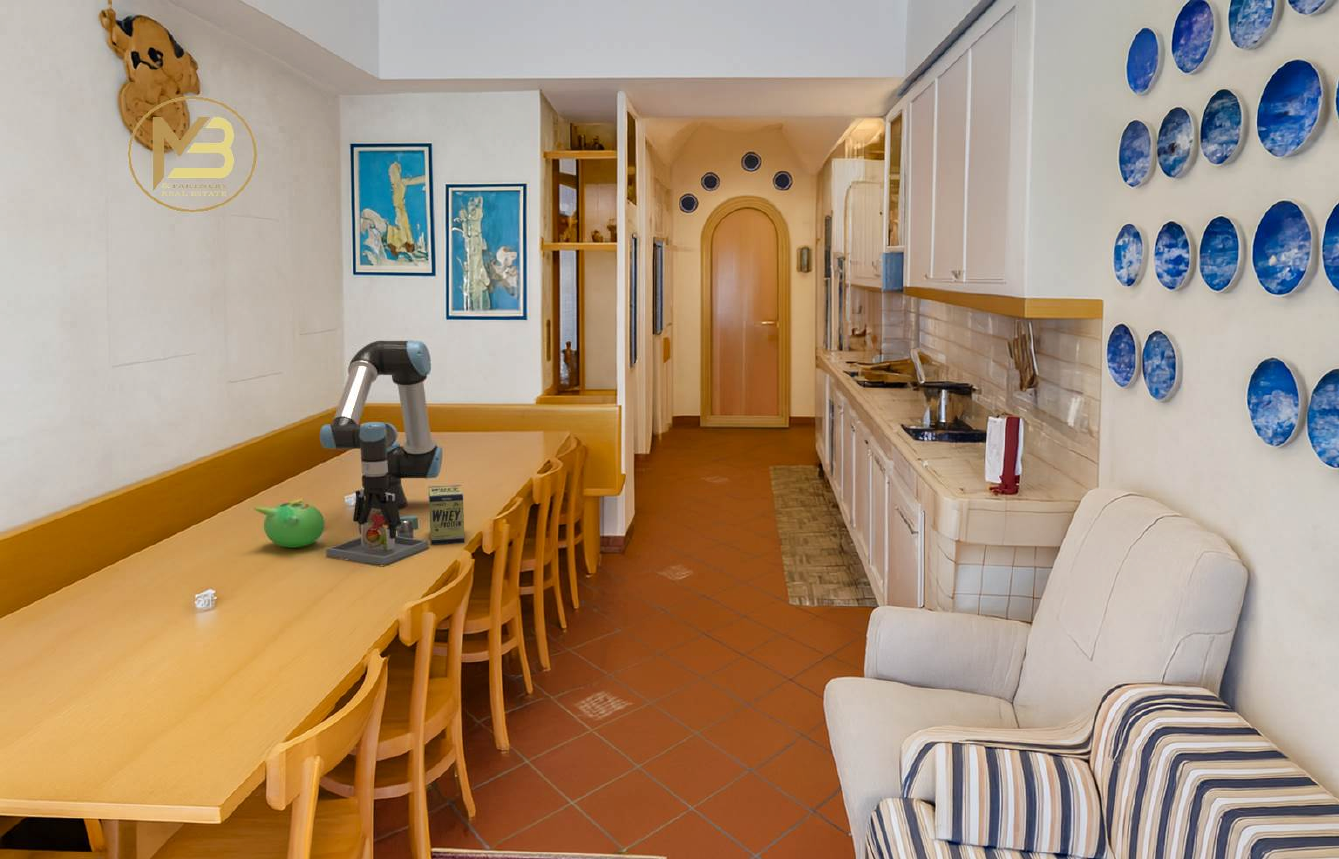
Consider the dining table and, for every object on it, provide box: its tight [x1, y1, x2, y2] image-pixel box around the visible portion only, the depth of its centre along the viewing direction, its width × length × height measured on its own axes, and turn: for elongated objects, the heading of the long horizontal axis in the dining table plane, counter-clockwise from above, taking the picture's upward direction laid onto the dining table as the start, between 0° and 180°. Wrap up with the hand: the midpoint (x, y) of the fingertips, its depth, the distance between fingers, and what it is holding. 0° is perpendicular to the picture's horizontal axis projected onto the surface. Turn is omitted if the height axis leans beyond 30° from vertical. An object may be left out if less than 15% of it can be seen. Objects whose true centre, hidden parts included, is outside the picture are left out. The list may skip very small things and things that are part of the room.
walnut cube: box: [366, 508, 383, 524], centre depth 319 cm, size 5×5×5 cm
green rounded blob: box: [253, 497, 325, 549], centre depth 292 cm, size 18×17×15 cm
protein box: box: [428, 485, 465, 545], centre depth 304 cm, size 10×16×16 cm
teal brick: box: [391, 514, 419, 531], centre depth 314 cm, size 4×8×4 cm, turn 124°
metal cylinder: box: [396, 519, 415, 539], centre depth 303 cm, size 5×5×6 cm
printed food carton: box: [363, 514, 387, 550], centre depth 287 cm, size 6×11×9 cm
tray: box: [325, 533, 430, 567], centre depth 287 cm, size 20×22×2 cm
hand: (378, 546), depth 287 cm, fingers closed on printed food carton, 9 cm apart
